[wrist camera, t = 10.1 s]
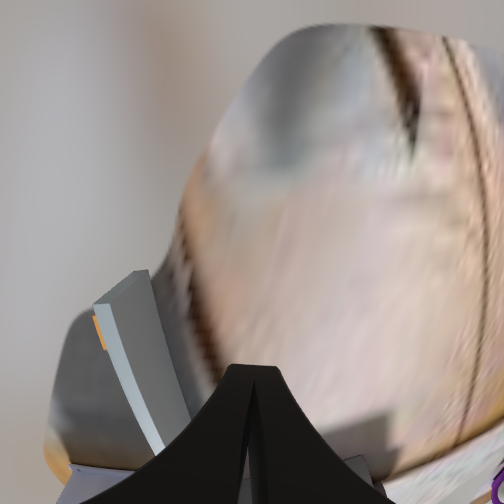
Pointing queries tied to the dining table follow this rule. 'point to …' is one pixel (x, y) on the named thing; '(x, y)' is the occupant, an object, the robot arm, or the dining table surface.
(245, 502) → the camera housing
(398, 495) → the dining table surface
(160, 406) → the side door
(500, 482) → the toy camera
